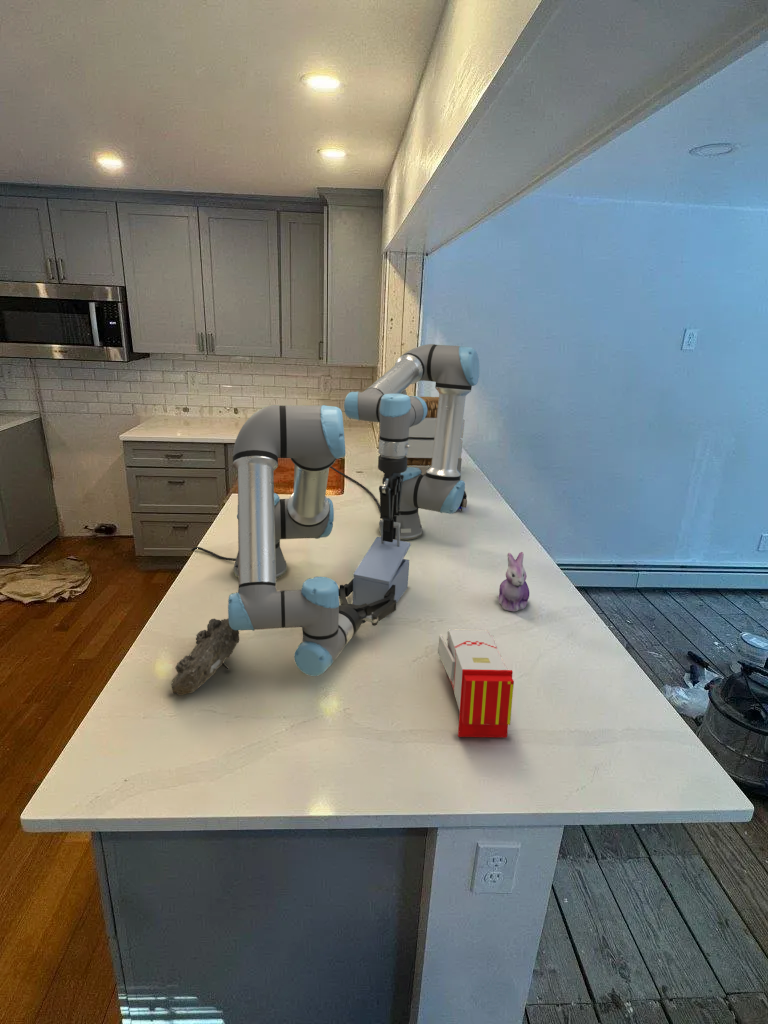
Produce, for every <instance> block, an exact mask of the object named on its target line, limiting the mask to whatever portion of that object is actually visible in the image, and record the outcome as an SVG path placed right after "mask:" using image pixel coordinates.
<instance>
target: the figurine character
mask: <svg viewBox="0 0 768 1024" xmlns="http://www.w3.org/2000/svg"><path fill="white" fill-rule="evenodd" d="M467 495H468V494H467V493H466V490H465V491H464V495H463V498H462V501H461V504H460V506H459V508H458V509H459V510H460V512H463V509H464V508H465V509H466V508H467V506H468V499H467V497H468V496H467ZM458 509H457V510H458Z"/></svg>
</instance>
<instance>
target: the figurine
mask: <svg viewBox="0 0 768 1024" xmlns="http://www.w3.org/2000/svg"><path fill="white" fill-rule="evenodd" d="M506 556H507V569H506V571H505V579H504V580H502V581H501V583H500V585H499V591H498V592H499V593H498V597H497V598H498V600H497V601H498V604H499V605H500V606H501V607H502V609H503V610H505V611H507V612H508V611H509V612H518V611H520V610H521V611H522V610H524V609H525V608H526V607H527V605H528V601H529V599H530V588H529V585H528V584H527V581H526V580H527V571H526V570H525V567H524V552H523V551H520V552H519V553H518V555H517V557H516V559H515V557H514V556H513V554H512V553H511V552H508V553H507V555H506Z"/></svg>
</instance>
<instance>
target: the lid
mask: <svg viewBox="0 0 768 1024" xmlns="http://www.w3.org/2000/svg"><path fill="white" fill-rule="evenodd" d="M378 524H379V527H380V528H381V534H380V536H376V537H375V539H374V540H373V542H372V544H371V545H370V547H369V548H368V550H367V552H366V553H365V555H364V556H363V558H362V559H361V561H360V563H359V564H358V566H357V567H356V569H355V570H354V572H353V574H352V578H359V579H364V580H369V581H374V582H379V583H383V584H388V585H389V584H390V583H391V581H392V579H393V577H394V575H395V573H396V572H397V570H398V568H399V566H400V564H401V562H402V560H403V559H405V557H406V554H407V553H408V551H409V549H410V547H411V546H412V545H411V544H412V543H411V542H409V541H406V540H400V523H398V522H394V528H396V531H397V540H395V539H393V542H387V541H383V520H382V519H379V522H378Z"/></svg>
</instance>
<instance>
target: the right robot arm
mask: <svg viewBox="0 0 768 1024" xmlns="http://www.w3.org/2000/svg"><path fill="white" fill-rule="evenodd" d="M479 378H480V359H479V354H478V352H477V350H476V349H475V348H474V347H470V346H464V345H451V344H450V345H449V344H434V343H429V344H423V345H419V346H417V347H414V348H412V349H409V350H408V351H406V352H404V353H403V354H401V356H399V357H398V358H397V359H396V361H395V363H394V365H393V366H392V367H391V368H390V369H389V370H387V371H386V372H385V373H383V374H382V375H381V376H380V377H379V378H378V379H377V380H375V381H374V382H373V383H372V384H371V385H369V387H367V388H366V389H365V390H363V391H361V392H360V391H350V392H348V393H347V394H346V396H345V398H344V404H343V408H344V409H343V410H344V414H345V416H346V417H347V418H349V419H352V420H357V421H358V422H359V421H364V422H371V423H379V435H378V451H377V453H378V454H379V455H378V456H377V458H378V460H377V469H378V470H379V471H380V472H382V473H383V477H382V481H381V483H382V485H379V487H378V492H379V501H378V500H377V499H378V498H376V497H375V495H374V494H373V492H371V491H370V490H369V489H368V488H367V486H364V485H363V484H362V483H360V482H358V481H357V480H356V479H354V478H352V477H350V476H348V475H347V474H346V473H344V472H341V471H340V470H338V469H337V468H335V467H333V465H332V466H331V467H329V469H332V470H333V471H335V472H336V473H338V474H339V475H341V476H343V477H344V478H347V479H348V480H350V481H352V482H353V483H355V484H357V485H358V486H360V487H361V488H363V490H365V491H366V492H367V493H368V494H369V495H370V496H371V497H372V498H373V500H374V502H375V503H376V505H377V508H378V510H379V512H380V513H379V515H380V516H379V519H380V520H383V541H387V542H393V540H397V531H396V528H394V522H398V523H400V541H410V540H415V539H418V538H420V537H421V536H422V535H423V525H422V524H421V518H420V515H419V509H420V510H426V511H430V512H438V513H440V514H449V515H450V514H451V515H452V514H454V513H456V512H457V511H458V508H459V506H460V504H461V501H462V498H463V495H464V491H465V492H466V482H465V481H464V480H462V479H461V478H462V477H461V476H462V473H461V474H460V473H459V471H458V470H457V464H458V455H459V447H460V439H461V440H462V438H461V431H462V423H463V419H464V414H465V406H466V397H467V395H468V394H470V393H471V392H472V388H473V387H474V386H477V385H478V382H479ZM422 381H423V382H434V383H435V384H434V385H435V387H434V388H435V390H436V391H437V392H438V397H439V401H438V410H437V419H436V428H435V437H434V446H433V455H432V464H431V465H430V466H429V468H427V469H426V471H425V474H422V470H421V468H419V467H416V466H407V457H406V455H407V454H408V448H410V445H409V444H408V439H409V427H412V426H414V425H417V424H419V423H420V422H421V421H423V420H424V419H425V417H426V415H427V405H426V403H425V401H424V400H423V399H422V398H420V397H421V396H416V395H414V396H413V395H408V394H407V395H405V394H401V393H402V392H403V391H404V390H406V389H407V388H409V386H410V385H414V384H417V383H419V382H422ZM459 509H460V508H459ZM378 533H379V534H380V535H381V528H380V526H379V527H378Z"/></svg>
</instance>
